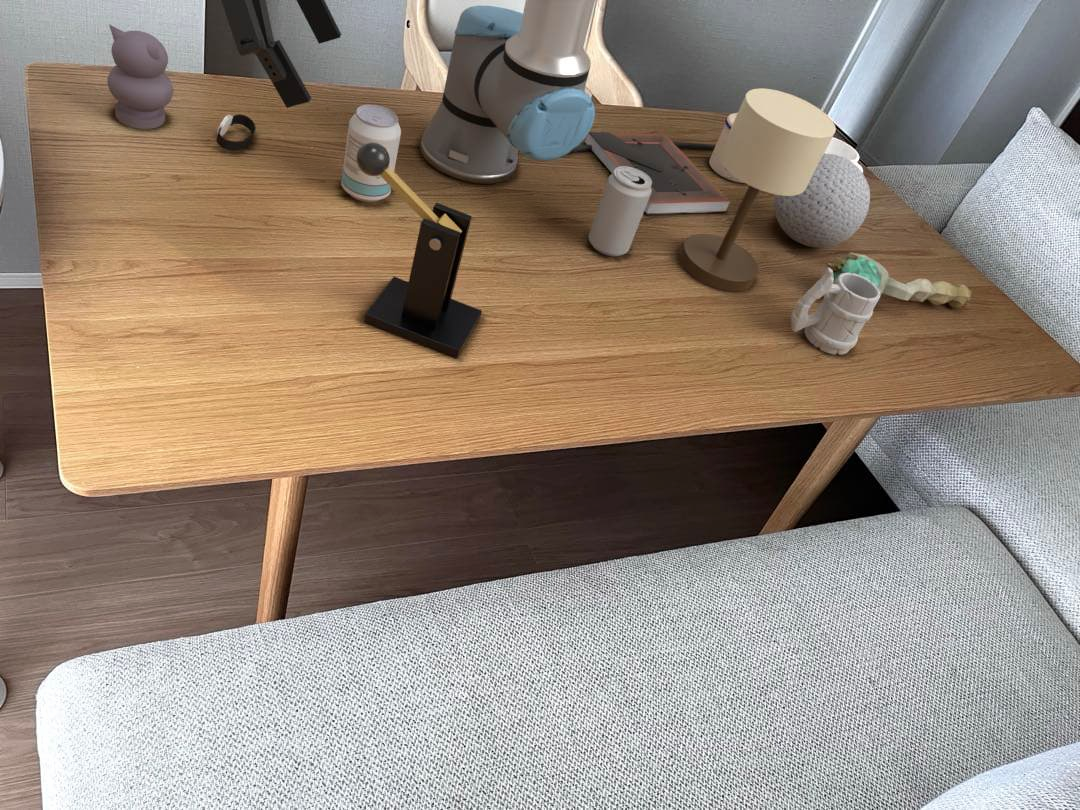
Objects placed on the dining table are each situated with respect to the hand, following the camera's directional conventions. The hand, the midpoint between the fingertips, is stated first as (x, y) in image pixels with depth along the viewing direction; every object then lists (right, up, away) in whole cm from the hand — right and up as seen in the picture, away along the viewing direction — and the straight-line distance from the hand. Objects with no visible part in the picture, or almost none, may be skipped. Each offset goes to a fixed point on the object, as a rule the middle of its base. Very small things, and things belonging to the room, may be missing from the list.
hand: (315, 70), depth 100 cm
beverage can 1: (0, -7, +30) cm, 31 cm away
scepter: (+81, -19, +49) cm, 97 cm away
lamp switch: (+8, -14, +3) cm, 17 cm away
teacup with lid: (+61, +6, +68) cm, 91 cm away
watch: (-19, +1, +30) cm, 36 cm away
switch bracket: (+10, -26, +13) cm, 31 cm away
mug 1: (+74, +1, +67) cm, 100 cm away
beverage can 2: (+34, -13, +37) cm, 52 cm away
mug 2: (+65, -27, +34) cm, 78 cm away
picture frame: (+44, +2, +57) cm, 72 cm away
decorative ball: (+69, -9, +55) cm, 89 cm away
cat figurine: (-31, +4, +28) cm, 43 cm away
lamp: (+52, -15, +41) cm, 68 cm away
